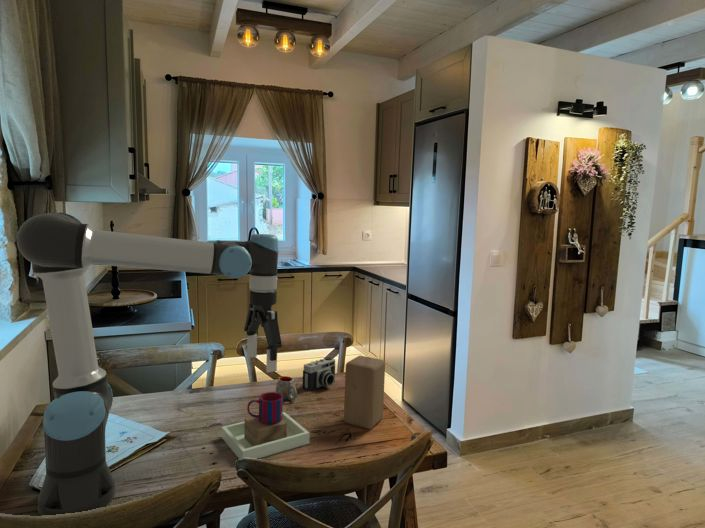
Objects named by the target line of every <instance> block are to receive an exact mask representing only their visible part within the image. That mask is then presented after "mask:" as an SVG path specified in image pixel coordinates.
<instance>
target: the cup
mask: <svg viewBox="0 0 705 528" xmlns="http://www.w3.org/2000/svg"><path fill="white" fill-rule="evenodd" d="M253 403H257V404H258V414H253V413H251V412H250V406H251V404H253ZM283 405H284V399H283V395H282V394H280V393H276V391H275V392H274V391H273V392H272V391H269V392H264V393H262V394H260V395H259V397H258V399H252V400H250V401H249V402H248V404H247V406H246V407H247V413H248V415H250V417H251V416H252V417H255V418H259V421H260V422H261V423H264V424H276V423H279V422H280V421H281V420H282V414H283V412H284V411H283Z"/></svg>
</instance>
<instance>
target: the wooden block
mask: <svg viewBox="0 0 705 528" xmlns="http://www.w3.org/2000/svg"><path fill="white" fill-rule="evenodd" d="M385 374H386V361H385V360H384V359H380V358H375V357H370V356H365V355H364V356H363V355H358V356H356V357H354V358H353V359H351V360H348V361H347V362H346V364H345V378H344V381H345V382H344V402H343V403H344V407H343V422H344V423H347V424H349V425H353V426H357V427H360V428H364V429H368V430H371V429H372V428H374V427H375V426H376V425H377V424H378V423H379V422H380V421H381V420H382V419H383V417H384V400H385V399H384V396H385V395H384V394H385V380H386V379H385V376H386V375H385Z"/></svg>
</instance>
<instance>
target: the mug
mask: <svg viewBox="0 0 705 528" xmlns="http://www.w3.org/2000/svg"><path fill="white" fill-rule="evenodd" d="M275 384H276V385H275V386H276V387H275V392H276V393H280V394H282V395H283V400H286V401H287V400H288V401H291V402H294V401H295V400H296V399H297V396H298V392H297V388H296V386H295V385H296V384H295V379H294V378H293V377H290V376H287V375H286V376H282V375H281V376H279V377H278V380H277V382H276V383H275Z"/></svg>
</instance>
